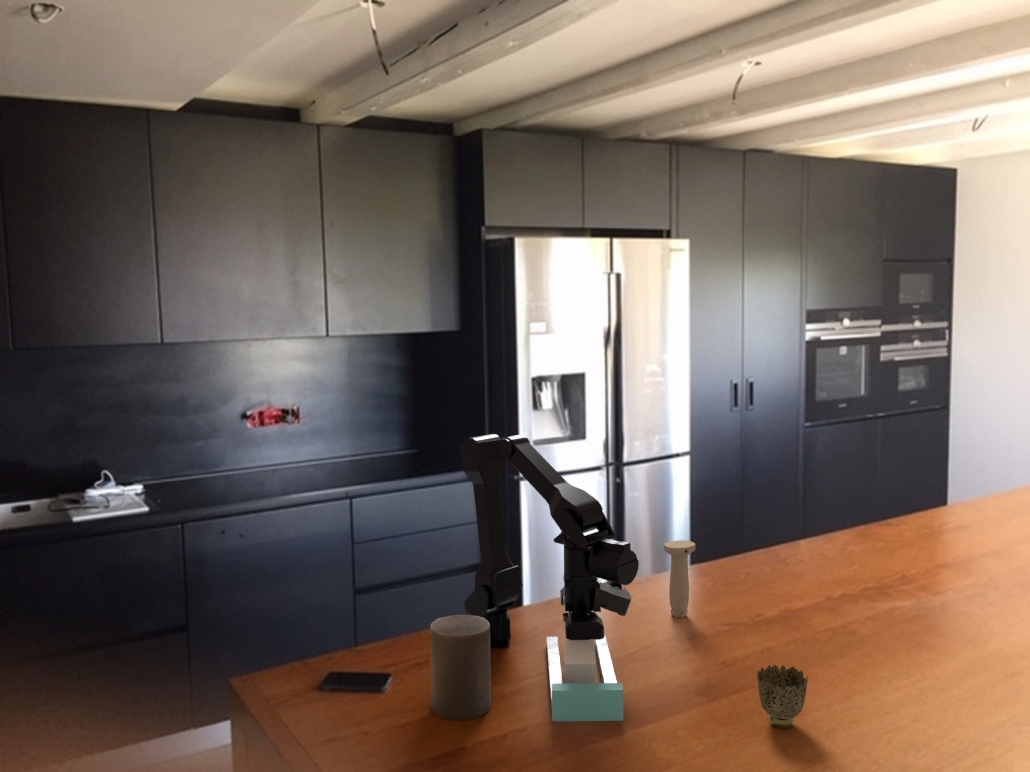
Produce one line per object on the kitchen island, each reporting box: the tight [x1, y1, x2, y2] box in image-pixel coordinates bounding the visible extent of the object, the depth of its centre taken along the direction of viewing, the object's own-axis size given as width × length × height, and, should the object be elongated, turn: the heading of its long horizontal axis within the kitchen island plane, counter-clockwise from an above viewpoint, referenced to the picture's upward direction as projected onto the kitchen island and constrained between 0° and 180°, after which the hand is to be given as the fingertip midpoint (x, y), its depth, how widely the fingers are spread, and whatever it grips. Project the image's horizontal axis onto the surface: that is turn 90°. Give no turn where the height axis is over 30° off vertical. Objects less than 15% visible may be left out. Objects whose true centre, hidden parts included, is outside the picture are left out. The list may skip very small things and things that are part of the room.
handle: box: [663, 539, 696, 619], centre depth 180 cm, size 5×6×15 cm
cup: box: [756, 664, 809, 729], centre depth 136 cm, size 8×7×8 cm
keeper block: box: [563, 639, 597, 683], centre depth 150 cm, size 5×5×6 cm
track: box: [546, 635, 624, 722], centre depth 152 cm, size 11×28×5 cm, turn 0°
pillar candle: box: [429, 614, 492, 721], centre depth 143 cm, size 10×10×15 cm
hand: (581, 658), depth 153 cm, fingers closed
